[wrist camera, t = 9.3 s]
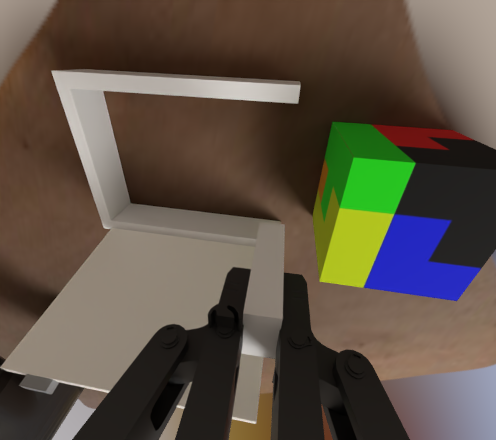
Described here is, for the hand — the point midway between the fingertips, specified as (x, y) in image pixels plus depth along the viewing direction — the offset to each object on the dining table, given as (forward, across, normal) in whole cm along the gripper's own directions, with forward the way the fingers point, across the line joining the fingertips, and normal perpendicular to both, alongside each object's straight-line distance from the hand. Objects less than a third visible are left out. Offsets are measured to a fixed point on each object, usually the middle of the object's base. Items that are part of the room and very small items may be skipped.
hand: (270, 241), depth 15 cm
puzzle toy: (+12, +9, 0) cm, 15 cm away
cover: (+1, -8, -8) cm, 12 cm away
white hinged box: (+12, -8, 0) cm, 15 cm away
